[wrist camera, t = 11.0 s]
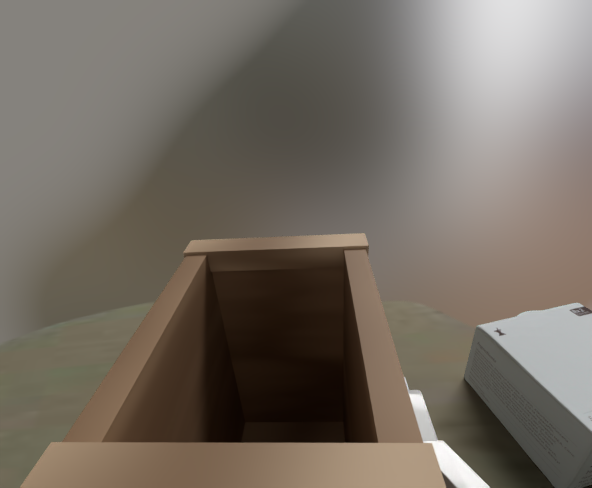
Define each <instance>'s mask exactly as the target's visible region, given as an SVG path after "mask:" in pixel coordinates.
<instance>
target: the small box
mask: <svg viewBox="0 0 592 488" xmlns="http://www.w3.org/2000/svg"><path fill="white" fill-rule="evenodd" d="M464 378H465V380H466V381H467V382H468V383H469V384H470V386H471V387H472V388H473V389H474V390H475V391H476V393H477V394H478V395H479V396H480V398H481V399H482V400H483V401H484V402H485V404H486V405H487V406H488V407H489V408H490V410H491V411H492V412H493V413H494V415H495V416H496V417H497V418H498V419H499V421H500V422H501V423H502V424H503V425H504V427H505V428H506V429H507V430H508V431H509V433H510V434H511V435H512V436H513V438H514V439H515V440H516V441H517V443H518V444H519V445H520V446H521V447H522V449H523V450H524V451H525V452H526V453H527V455H528V456H529V457H530V458H531V460H532V461H533V462H534V463H535V464H536V465H537V467H538V468H539V469H540V470H541V471H542V473H543V474H544V475H545V476H546V477H547V479H548V480H549V481H550V482H551V484H552V485H553V486H554V487H555V488H583V487H586V486H589V485H592V311H591V310H589V309H588V308H586V307H584V306H583V305H581V304H579V303H573V304H568V305H564V306H559V307H555V308H551V309H547V310H542V311H526V312H523V313H521V314H519V315H518V316H516V317H513V318H508V319H503V320H499V321H495V322H491V323H487V324H482V325H477V326H476V330H475V334H474V338H473V342H472V346H471V350H470V354H469V358H468V362H467V366H466V370H465V374H464Z"/></svg>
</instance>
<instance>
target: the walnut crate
mask: <svg viewBox="0 0 592 488" xmlns="http://www.w3.org/2000/svg"><path fill="white" fill-rule="evenodd" d="M368 247H369V245H368V242H367V239H366V236H365V234H364V233H360V234H336V235H311V236H288V237H287V236H286V237H262V238H240V239H239V238H237V239H214V240H192V241H191V242H190V243H189V245H188V246H187V248H186V250H185V251H184V252H183V254H184V260H183V261H182V263H181V264H180V266H179V268H178V269H177V270H176V272H175V274H174V275H173V276H172V278H171V279H170V281H169V283H168V284H167V285H166V287H165V288H164V290H163V292H162V293H161V294H160V296H159V297H158V299H157V300H156V302H155V303H154V305H153V306H152V308H151V309H150V311H149V312H148V314H147V315H146V317H145V318H144V320H143V321H142V323H141V324H140V326H139V327H138V329H137V330H136V332H135V333H134V335H133V336H132V338H131V339H130V341H129V342H128V344H127V345H126V347H125V348H124V350H123V351H122V353H121V354H120V356H119V357H118V359H117V360H116V362H115V363H114V365H113V366H112V368H111V369H110V371H109V372H108V374H107V375H106V377H105V378H104V380H103V381H102V383H101V384H100V386H99V387H98V389H97V390H96V392H95V393H94V395H93V396H92V398H91V399H90V401H89V402H88V404H87V405H86V407H85V408H84V410H83V411H82V413H81V414H80V416H79V417H78V419H77V420H76V422H75V423H74V425H73V426H72V428H71V429H70V431H69V432H68V434H67V435H66V437H65V438H64V440H63V441H62V442H51V443H50V445H49V446H48V448H47V449H46V451H45V452H44V453H43V455H42V456H41V458H40V459H39V461H38V462H37V463H36V465H35V466H34V468H33V469H32V471H31V472H30V474H29V475H28V476H27V478H26V479H25V481H24V482H23V484H22V485H21V486H20V488H446V485H445V482H444V479H443V476H442V472H441V469H440V466H439V463H438V460H437V457H436V454H435V451H434V448H433V444H432V443H423V440H422V436H421V433H420V430H419V426H418V423H417V420H416V416H415V413H414V409H413V406H412V403H411V399H410V396H409V393H408V389H407V386H406V383H405V379H404V376H403V373H402V369H401V366H400V363H399V359H398V356H397V353H396V349H395V346H394V342H393V339H392V336H391V332H390V329H389V326H388V322H387V319H386V316H385V312H384V309H383V306H382V302H381V299H380V296H379V292H378V289H377V285H376V282H375V279H374V275H373V273H372V269H371V265H370V262H369V259H368V249H369V248H368Z"/></svg>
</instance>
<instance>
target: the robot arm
mask: <svg viewBox="0 0 592 488" xmlns="http://www.w3.org/2000/svg"><path fill="white" fill-rule="evenodd" d="M408 393H409V396H410V399H411V403H412V406H413V409H414V413H415V416H416V420H417V423H418V426H419V430H420V433H421V436H422V440H423V443H432V444H433V448H434V451H435V454H436V457H437V460H438V463H439V466H440V469H441V472H442V476H443V479H444V482H445V485H446V488H490V487H489V486H488V485H487V484H486V483H485V482H484V481H483V480H482V479H481V478H480V477H479V476H478V475H477V474H476V473H475V472H474V471H473V470H472V469H471V468H470V467H469V466H468V465H467V464H466V463H465V462H464V461H463V460H462V459H461V458H460V457H459V456H458V455H457V454H456V453H455V452H454V451H453V450H452V449H451V448H450V447H449V446H448V445H447V444H446V443H445V442H444V441H440V440H438V439H437V436H436V433H435V430H434V427H433V425H432V422H431V419H430V416H429V413H428V410H427V407H426V404H425V401H424V398H423V395H422V393H421V392H420V390H408Z"/></svg>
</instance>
